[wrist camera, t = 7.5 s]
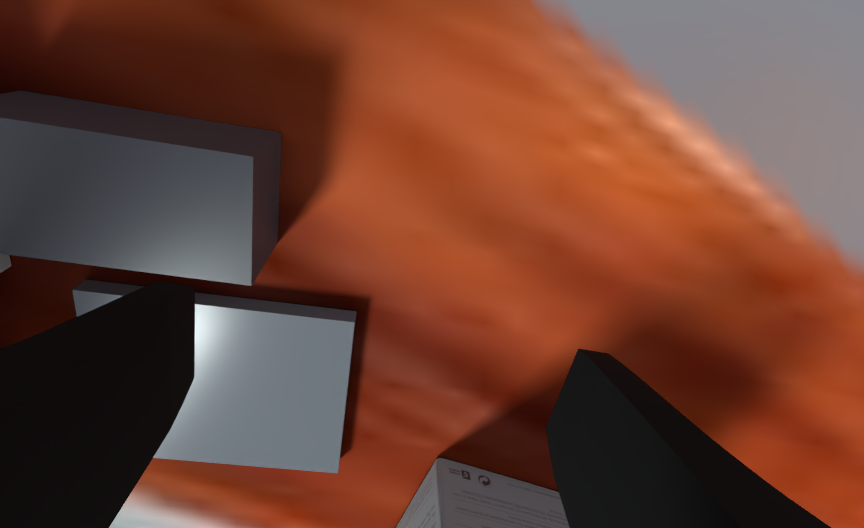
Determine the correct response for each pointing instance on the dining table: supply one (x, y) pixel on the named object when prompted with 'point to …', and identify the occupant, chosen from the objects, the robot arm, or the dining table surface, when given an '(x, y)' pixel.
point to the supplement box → (480, 501)
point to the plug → (136, 189)
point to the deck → (257, 381)
